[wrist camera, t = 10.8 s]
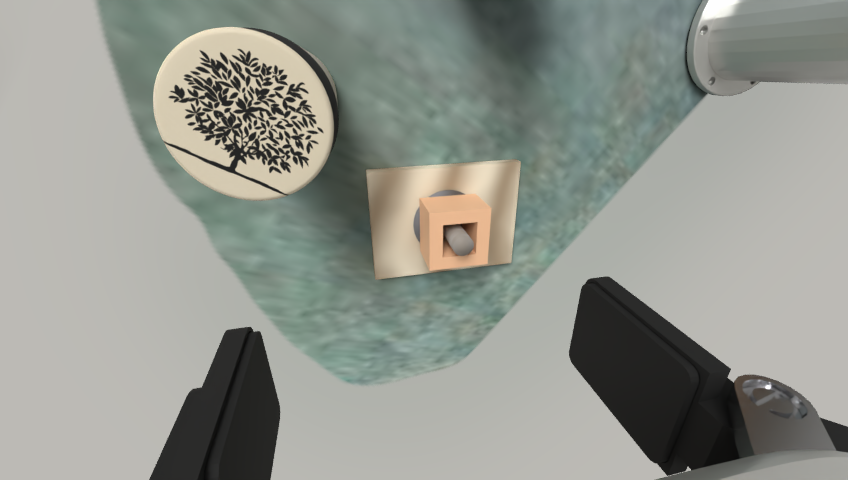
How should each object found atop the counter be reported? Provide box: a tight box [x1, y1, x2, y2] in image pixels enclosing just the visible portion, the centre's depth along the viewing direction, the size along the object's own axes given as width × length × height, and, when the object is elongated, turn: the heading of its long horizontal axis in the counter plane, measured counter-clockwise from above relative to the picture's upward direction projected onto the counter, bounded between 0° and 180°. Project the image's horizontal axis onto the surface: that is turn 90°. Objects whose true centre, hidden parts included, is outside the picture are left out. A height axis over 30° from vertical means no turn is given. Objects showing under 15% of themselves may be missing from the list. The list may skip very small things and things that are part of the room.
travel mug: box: [153, 27, 339, 201], centre depth 24 cm, size 8×8×18 cm
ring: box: [419, 194, 492, 271], centre depth 37 cm, size 6×6×4 cm
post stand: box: [366, 159, 521, 280], centre depth 37 cm, size 16×12×7 cm
